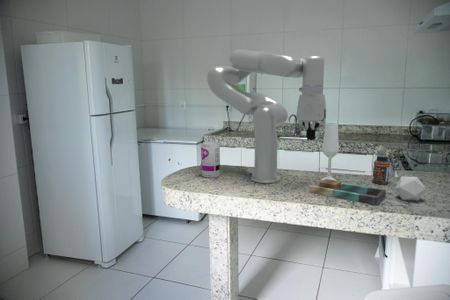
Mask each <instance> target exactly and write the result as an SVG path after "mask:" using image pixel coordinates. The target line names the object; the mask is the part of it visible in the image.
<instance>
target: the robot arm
mask: <svg viewBox="0 0 450 300" xmlns="http://www.w3.org/2000/svg"><path fill="white" fill-rule="evenodd" d="M228 59H229V64H230V66H229V65H216V66H213V67H211V68H210V69H209V70H208V72H207V76H206V81H207V85H208V87H209V89H210V91H211V92H212V94H214V95H215V96H216V97H217V98H218V99H220V100H222V102H225V104H227V105H229V106H230V107H232V108H233V109H235V110H236V111H238V112H239V113H241V114H242V115H245V116H252V125H253V131H254V167H248V169H247V170H246V171H247V173H249V174H252V175H251V176H250V180H251V181H252V182H255V183H260V184H273V183H279V182H281V176H280V175H278V146H279V145H278V141H279V140H278V133H277V127H280V126H281V127H282V125H284V124H286V122H287V120H288V118H289V116H288V115H289V114H288V110H287V109H286V107H285V106H283V105H282V104H280V103H279V102H278V101H275V100H274V99H273V98H270V97H269V96H268V95H265V94H262V93H259V92H247V91H245V90H243V89H241V88H240V87H238V86H237V85H238V84H239V83H241V82H242V81H243V80H245V79H246V78H247V77H248V76H249V75H251V74H252V73H254V74H255V73H256V74H260V75H261V74H262V75H263V74H266V75H270V76H278V77H283V78H294V79H295V78H297V79H300V78H302V85H301V87H299V88H298V91H299V92H300V93H301V94H299V97H298V102H297V107H296V108H297V109H296V120H297V124H300V125H302V126H303V127H304V129H305V130H306V131H305V132H306V133H305V137H306V140H307V141H314V140H315V138H316V131H317V129H318V128H319V127H320V126H325V125H326V119H327V102H326V95H325V94H324V77H325V58H324V57H323V56H322V55H321V56H320V55H310V56H306V57H297V56H291V55H283V54H272V53H268V52H266V51H256V50H250V49H249V50H247V49H242V48H241V49H240V48H239V49H236V50H234V51H232V52H231V53H230V56H229V58H228Z"/></svg>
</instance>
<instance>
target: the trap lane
mask: <svg viewBox="0 0 450 300" xmlns="http://www.w3.org/2000/svg"><path fill="white" fill-rule="evenodd" d="M322 179H323V178H321V179H319V181H318V183H319V182H321V181H323V180H322ZM308 193H310V194H311V193H312V194H316V195H321V196H326V197H331V198H335V199H341V200H347V201H352V202H358V203H362V204H367V205H372V206H379V204H380V203H381V202H382V201H383V200H384V199H385V198H386V196H387V195H386V193H387V189H382V188H375V187H370V186H365V185H364V186H362V185H359V184H358V185H357V184H351V183H345V182H341V191H340V190H335V189H329V188H324V187H319V186H318V185H317V186H316V185H312V184H310V185H308Z"/></svg>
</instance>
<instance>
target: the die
mask: <svg viewBox="0 0 450 300" xmlns="http://www.w3.org/2000/svg"><path fill="white" fill-rule="evenodd" d="M426 188H427V187H425V185H424V184H423V183H422V182H421V180H420V179H419V178H418V177H417V176H400V178H399V180H398V182H397V184H396V186H395V187H394V190H395V191H396V193H397V195H398V196H399V197H400V199H401V200H402V201H417V202H419V201H420V199H421V198H422V197H423V196H422V195H423V194H424V193H425V191H426V190H427V189H426Z"/></svg>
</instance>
